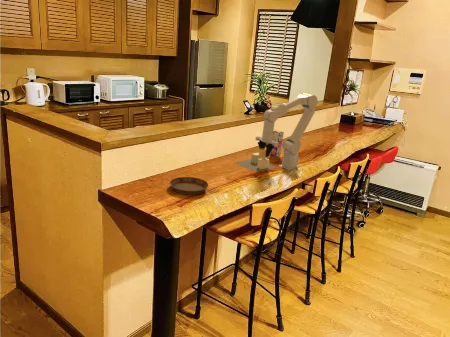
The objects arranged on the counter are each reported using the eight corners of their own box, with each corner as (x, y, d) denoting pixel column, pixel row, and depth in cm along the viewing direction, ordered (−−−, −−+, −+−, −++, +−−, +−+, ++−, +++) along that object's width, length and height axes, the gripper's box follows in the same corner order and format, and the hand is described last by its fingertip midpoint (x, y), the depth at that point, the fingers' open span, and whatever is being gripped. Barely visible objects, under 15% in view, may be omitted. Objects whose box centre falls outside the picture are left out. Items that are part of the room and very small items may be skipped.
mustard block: (265, 155, 213) (266, 147, 211) (269, 157, 210) (271, 149, 209) (258, 157, 209) (259, 148, 207) (263, 159, 206) (264, 150, 205)
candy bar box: (280, 156, 240) (284, 131, 235) (275, 157, 236) (279, 132, 231) (266, 152, 247) (270, 127, 242) (262, 153, 243) (265, 128, 238)
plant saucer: (161, 188, 168) (161, 182, 167) (186, 179, 182) (186, 173, 181) (191, 200, 159) (191, 193, 158) (215, 190, 173) (215, 184, 172)
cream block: (263, 166, 215) (264, 157, 213) (268, 167, 212) (269, 159, 211) (256, 167, 211) (258, 159, 209) (261, 169, 208) (262, 161, 207)
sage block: (257, 160, 224) (258, 152, 222) (261, 162, 222) (263, 154, 220) (250, 161, 220) (252, 153, 218) (255, 163, 218) (256, 155, 216)
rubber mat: (253, 159, 227) (253, 158, 227) (276, 167, 216) (277, 167, 215) (233, 163, 215) (233, 162, 215) (256, 172, 203) (257, 172, 203)
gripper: (253, 129, 207) (250, 152, 211) (273, 135, 197) (270, 159, 202) (261, 128, 212) (258, 151, 216) (281, 134, 202) (277, 158, 207)
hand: (264, 155), depth 209 cm, fingers closed on mustard block, 3 cm apart
